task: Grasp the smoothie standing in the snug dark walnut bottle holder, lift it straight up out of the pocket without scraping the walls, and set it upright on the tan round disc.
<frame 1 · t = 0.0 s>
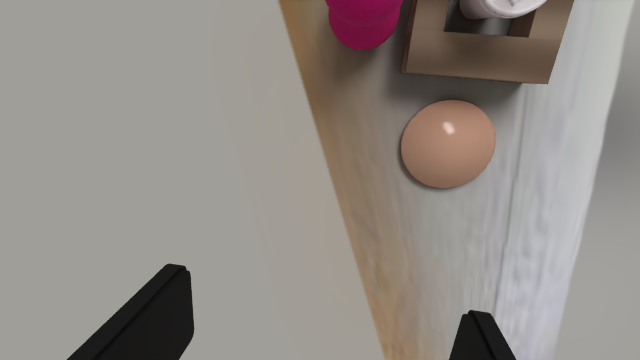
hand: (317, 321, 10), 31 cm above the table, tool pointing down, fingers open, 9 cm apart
bottle holder: (477, 0, 33), on the table
smoothie: (476, 1, 33), resting in bottle holder
pepper mill: (363, 19, 35), on the table
tan round disc: (445, 144, 38), on the table
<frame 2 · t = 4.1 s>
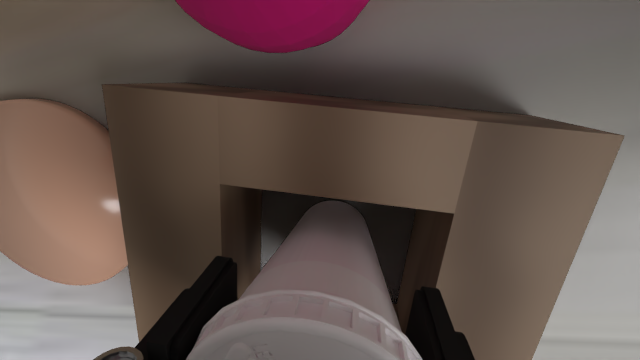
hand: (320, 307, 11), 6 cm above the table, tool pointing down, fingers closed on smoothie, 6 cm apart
bottle holder: (333, 232, 16), on the table
smoothie: (333, 230, 16), resting in bottle holder, touching gripper
tan round disc: (62, 195, 18), on the table
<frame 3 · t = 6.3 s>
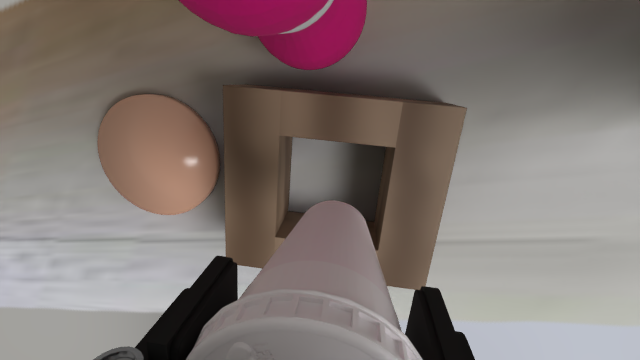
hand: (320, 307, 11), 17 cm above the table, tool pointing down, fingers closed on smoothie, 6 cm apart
bottle holder: (335, 175, 27), on the table
smoothie: (333, 230, 16), point 11 cm above the table, touching gripper
pepper mill: (317, 22, 23), on the table
tan round disc: (162, 155, 28), on the table
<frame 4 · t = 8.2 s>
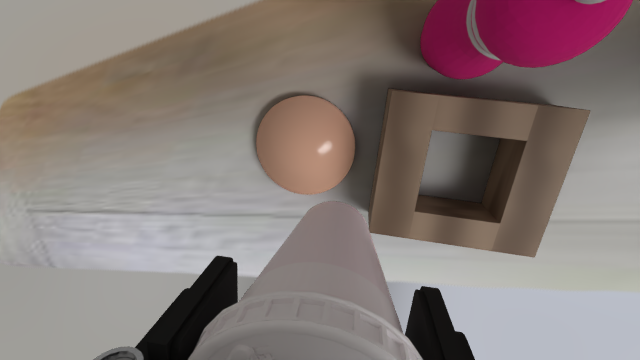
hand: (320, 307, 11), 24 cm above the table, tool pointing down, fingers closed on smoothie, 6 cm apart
bottle holder: (452, 163, 33), on the table
smoothie: (334, 231, 16), point 18 cm above the table, touching gripper
pepper mill: (453, 39, 29), on the table
tan round disc: (306, 145, 34), on the table
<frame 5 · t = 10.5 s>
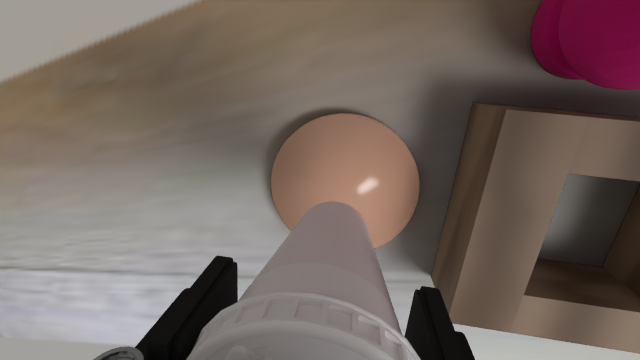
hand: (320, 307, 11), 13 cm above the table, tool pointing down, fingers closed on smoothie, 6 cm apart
bottle holder: (563, 212, 22), on the table
smoothie: (333, 231, 16), point 8 cm above the table, touching gripper
pepper mill: (584, 25, 18), on the table
tan round disc: (343, 185, 23), on the table
when the fingers open (7 cm above the table, at t = 12.6 s): smoothie stays where it is, resting on tan round disc.
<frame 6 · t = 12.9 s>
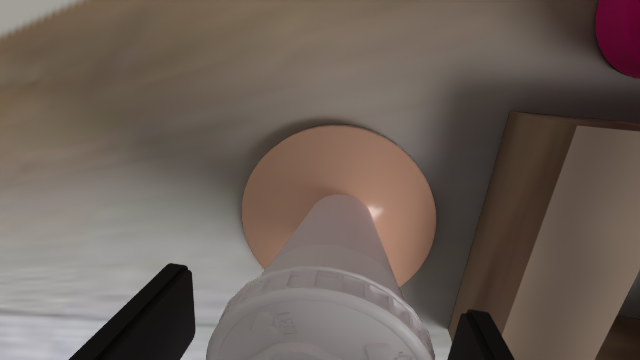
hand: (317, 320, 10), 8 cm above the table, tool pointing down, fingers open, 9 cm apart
bottle holder: (625, 254, 17), on the table
smoothie: (340, 222, 17), point 1 cm above the table, touching tan round disc
tan round disc: (336, 216, 18), on the table
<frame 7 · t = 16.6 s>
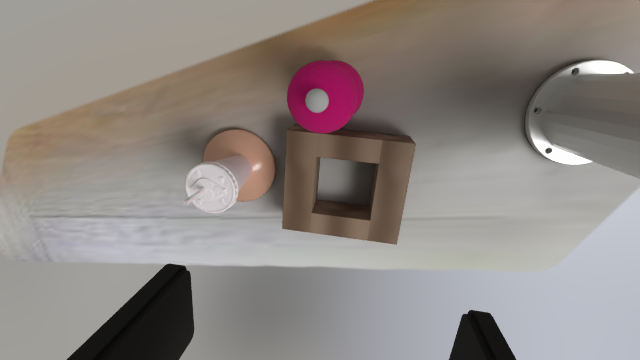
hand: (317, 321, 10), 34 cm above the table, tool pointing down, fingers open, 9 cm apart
bottle holder: (345, 177, 45), on the table
smoothie: (240, 166, 45), point 1 cm above the table, touching tan round disc
pepper mill: (336, 90, 41), on the table
tan round disc: (240, 165, 46), on the table
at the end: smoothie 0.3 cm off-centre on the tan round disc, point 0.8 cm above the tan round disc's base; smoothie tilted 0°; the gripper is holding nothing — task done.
